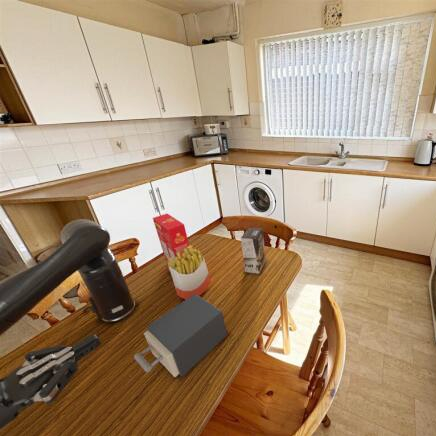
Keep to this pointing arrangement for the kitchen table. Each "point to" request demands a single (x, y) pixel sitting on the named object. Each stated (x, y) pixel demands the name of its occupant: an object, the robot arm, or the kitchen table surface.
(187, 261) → the french fries container
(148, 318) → the kitchen table surface
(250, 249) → the coffee box
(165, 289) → the kitchen table surface
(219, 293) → the kitchen table surface
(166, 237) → the food packaging
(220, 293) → the kitchen table surface
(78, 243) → the robot arm
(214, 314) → the cabinet
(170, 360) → the drawer
